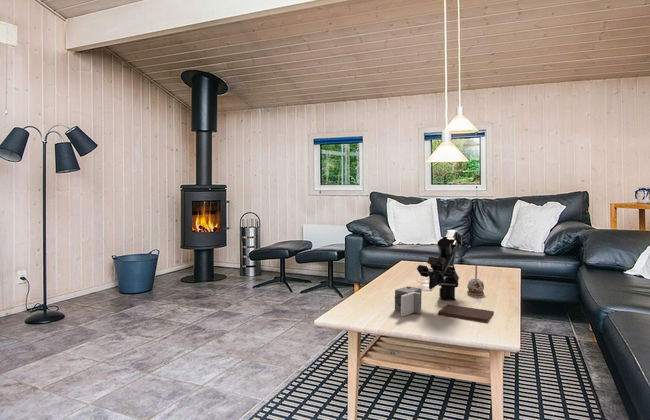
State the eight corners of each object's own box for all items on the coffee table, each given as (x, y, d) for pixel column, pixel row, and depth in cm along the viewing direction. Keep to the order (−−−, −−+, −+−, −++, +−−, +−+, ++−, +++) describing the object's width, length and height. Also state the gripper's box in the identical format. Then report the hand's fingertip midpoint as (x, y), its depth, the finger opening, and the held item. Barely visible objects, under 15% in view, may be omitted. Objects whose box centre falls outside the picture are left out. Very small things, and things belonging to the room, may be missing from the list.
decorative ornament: (474, 296, 212) (475, 266, 211) (464, 292, 219) (464, 263, 218) (487, 295, 215) (488, 265, 214) (476, 291, 222) (477, 262, 221)
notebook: (447, 307, 194) (447, 303, 194) (493, 314, 184) (493, 310, 184) (437, 316, 181) (438, 311, 181) (487, 324, 171) (487, 319, 171)
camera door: (413, 311, 184) (414, 291, 184) (420, 313, 182) (421, 293, 181) (400, 315, 178) (401, 295, 177) (407, 317, 175) (408, 297, 175)
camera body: (407, 305, 194) (408, 284, 194) (421, 309, 189) (421, 287, 189) (392, 310, 186) (393, 289, 186) (406, 314, 181) (406, 291, 181)
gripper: (419, 247, 198) (405, 274, 191) (456, 252, 185) (442, 281, 178) (428, 262, 204) (414, 288, 197) (464, 267, 191) (451, 296, 184)
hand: (429, 288), depth 189 cm, fingers closed
